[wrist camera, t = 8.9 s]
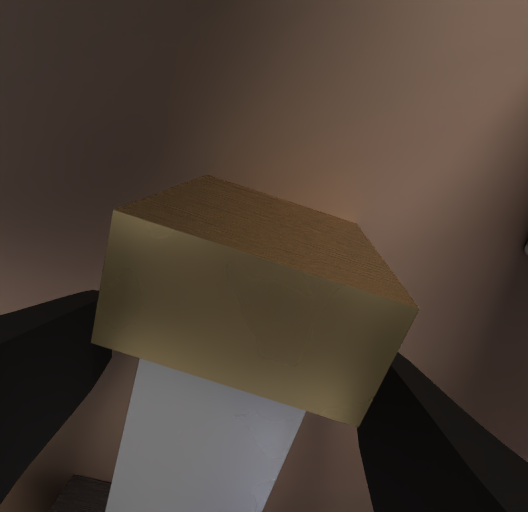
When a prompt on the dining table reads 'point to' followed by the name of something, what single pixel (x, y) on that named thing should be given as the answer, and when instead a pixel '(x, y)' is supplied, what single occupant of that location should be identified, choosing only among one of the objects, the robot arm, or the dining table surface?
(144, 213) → the lever
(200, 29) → the dining table surface
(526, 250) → the coffee box
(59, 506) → the housing
